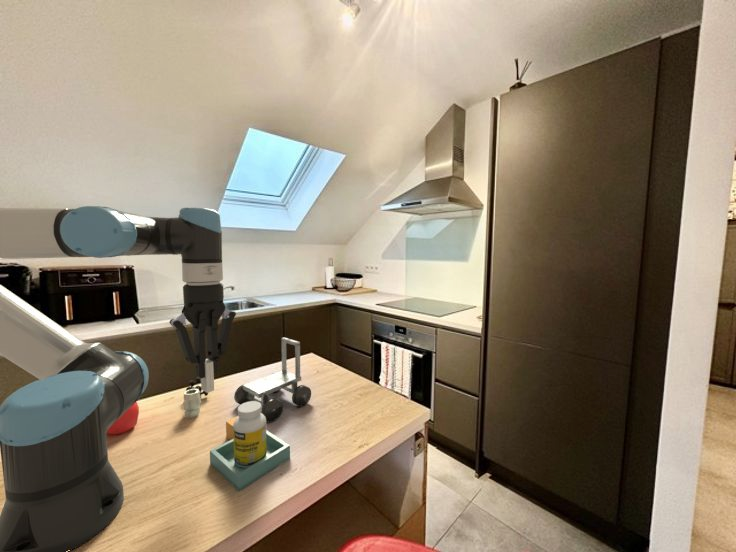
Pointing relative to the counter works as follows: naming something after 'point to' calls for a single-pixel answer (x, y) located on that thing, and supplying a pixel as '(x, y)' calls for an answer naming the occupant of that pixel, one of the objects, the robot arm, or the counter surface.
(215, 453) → the tray
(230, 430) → the block
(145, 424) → the counter surface
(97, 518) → the robot arm
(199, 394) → the valve
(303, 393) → the trolley
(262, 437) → the pill bottle
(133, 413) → the apple
